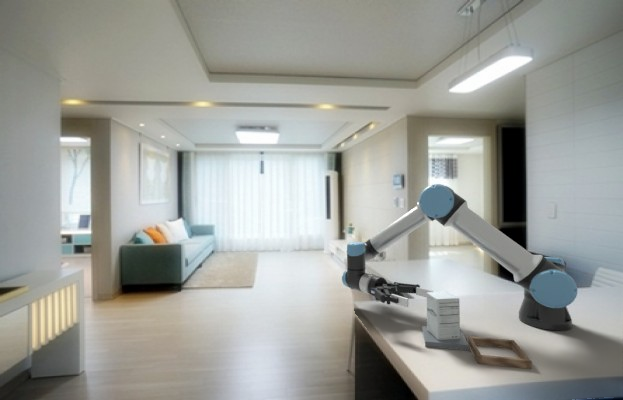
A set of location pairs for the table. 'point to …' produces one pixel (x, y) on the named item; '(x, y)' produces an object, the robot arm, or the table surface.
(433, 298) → the supplement box
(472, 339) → the walnut holder
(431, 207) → the robot arm
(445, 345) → the slate trivet
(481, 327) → the table surface
